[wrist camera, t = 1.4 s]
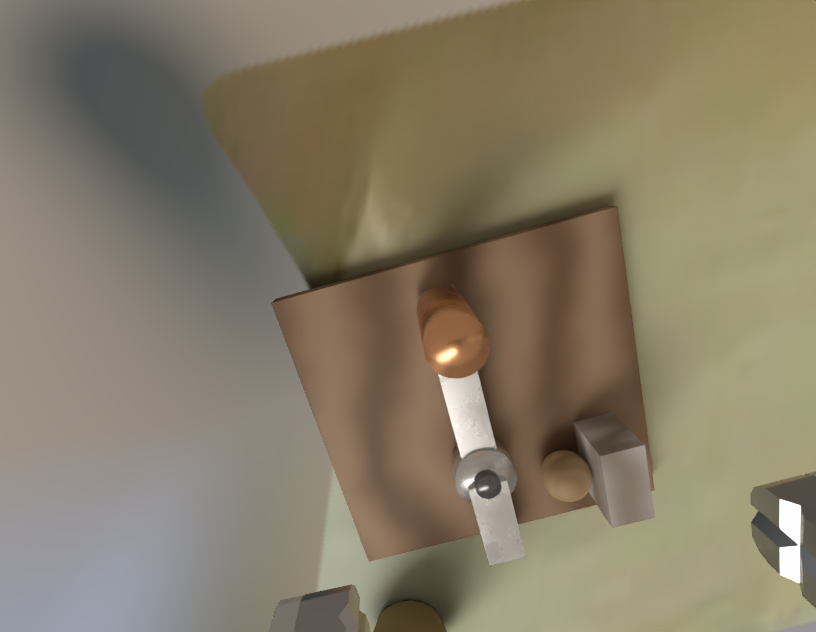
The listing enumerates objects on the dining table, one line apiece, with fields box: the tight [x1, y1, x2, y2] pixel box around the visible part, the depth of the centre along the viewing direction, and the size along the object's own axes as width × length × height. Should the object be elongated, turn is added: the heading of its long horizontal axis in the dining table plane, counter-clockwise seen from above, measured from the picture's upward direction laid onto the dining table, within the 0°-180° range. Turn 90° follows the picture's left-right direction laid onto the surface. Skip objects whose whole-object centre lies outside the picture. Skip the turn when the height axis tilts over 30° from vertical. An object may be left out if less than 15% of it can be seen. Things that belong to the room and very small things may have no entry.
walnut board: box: [271, 206, 654, 561], centre depth 30 cm, size 24×23×6 cm
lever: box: [416, 284, 526, 566], centre depth 27 cm, size 4×22×9 cm, turn 15°
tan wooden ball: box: [540, 450, 592, 502], centre depth 32 cm, size 4×4×4 cm
